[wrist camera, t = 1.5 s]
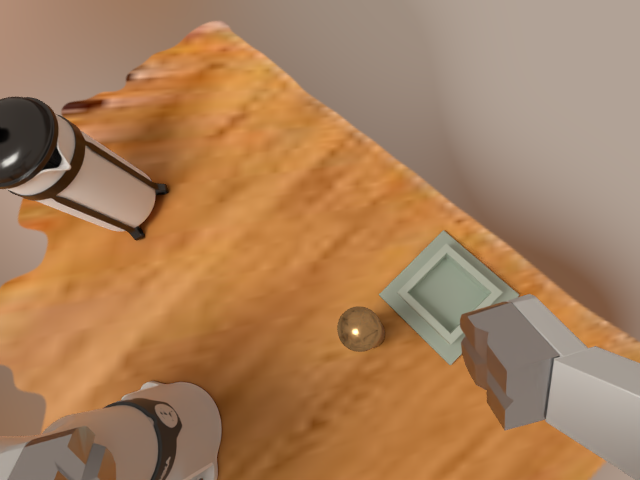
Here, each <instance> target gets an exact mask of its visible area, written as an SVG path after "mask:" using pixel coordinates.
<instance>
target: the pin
mask: <svg viewBox="0 0 640 480" xmlns="http://www.w3.org/2000/svg"><path fill="white" fill-rule="evenodd" d="M337 330H338V336H339V338H340V340H341V342H342V343H343V344H344V345H345V346H346V347H347V348H349V349H350V350H353V351H358V352H362V351H367V350H370V349H372V348H375V347H377V346H379V345H380V344H381V343H382V342H383V340H384V338H385V329H384V326H383V325H382V323H381V322H380V320H379V318H378V316H377V315H376V314H375V313H374V312H373V311H371V310H370V309H368V308H365V307H353V308H350V309H348V310H347V311H345V312H344V313H343V314H342V316H341V317H340V319H339V322H338V327H337Z"/></svg>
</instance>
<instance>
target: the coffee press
mask: <svg viewBox="0 0 640 480" xmlns="http://www.w3.org/2000/svg"><path fill="white" fill-rule="evenodd" d="M0 189H7V190H8V191H10V192H11V193H13V194H15V195H18V196H20V197H23V198H25V199H28V200H34V201H38V202H40V203H43V204H45V205H48V206H50V207H53V208H55V209H58V210H61V211H63V212H66V213H68V214H71V215H73V216H76V217H78V218H81V219H83V220H86V221H89V222H91V223H94V224H96V225H99V226H101V227H104V228H107V229H110V230H113V231H127V232H129V233H130V234H131V236H132V237H133V238H134V239H135V240H139V239H142V238H144V233H143V231H142V230H141V228H140V227H139V225H140V224H141V223H143V222H144V221H145V220H146V218H147V217H148V216H149V214H150V213H151V211H152V209H153V206H154V203H155V195H165V194H167V193H168V188H167V185H166V184H157V183H154V182H152V180H151V179H150V178H149V177H148V176H147V175H146V174H145V173H144V172H142V171H141V170H139V169H138V168H136V167H135V166H133V165H132V164H130V163H129V162H127V161H126V160H124V159H123V158H121V157H120V156H118V155H117V154H115V153H114V152H112V151H111V150H109V149H108V148H106V147H105V146H103V145H102V144H100V143H99V142H97V141H96V140H94V139H93V138H91V137H90V136H88V135H87V134H85V133H84V132H82V131H80V130H79V128H78V127H77V126H76V125H74V124H73V123H71V122H70V121H68V120H67V119H65V118H64V117H62V116H60V115H57V114H55V113H54V112H53V110H52V109H51V108H50V107H49V106H48V105H46V104H45V103H43V102H42V101H40V100H38V99H35V98H30V97H24V98H23V97H8V98H4V99H0Z"/></svg>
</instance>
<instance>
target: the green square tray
mask: <svg viewBox="0 0 640 480" xmlns="http://www.w3.org/2000/svg"><path fill="white" fill-rule="evenodd" d="M379 296H380V297H381V298H382V299H383V300H385V301H386V302H387V303H388V304H389V305H390V306H391V307H392V308H393V309H394V310H395V311H396V312H397V313H398V314H399V315H400V316H401V317H402V318H403V319H404V320H405V321H406V322H407V323H408V324H409V325H410V326H411V327H412V328H413V329H414V330H415V331H416V332H417V333H418V334H419V335H420V336H421V337H422V338H423V339H424V340H425V341H426V342H427V343H428V344H429V345H430V346H431V347H432V348H433V349H434V350H435V351H436V352H437V353H438V354H439V355H440V356H441V357H442V358H443V359H444V360H445V361H446V362H447V363H448V364H449V365H451V364H452V363H453V362H454V361H455V360H456V359H457V358H458V357H459V356H460V355H461V354H462V349H461V341H462V340H463V338H464V337H465V334H464V333H463V331H462V330H461V328H460V318H461V315H462V314H464V313H468V312H471V311H474V310H477V309H481V308H484V307H487V306H491V305H494V304H497V303H500V302H506V301H508V300H511V299H514V298H517V297H518V296H519V294H518V293H516V292H515V291H514V290H513V289H512V288H511V287H509V286H508V285H507V284H506V283H505V282H504V281H502V280H501V279H500V278H499V277H498V276H497V275H495V274H494V273H493V272H492V271H491V270H490V269H488V268H487V267H486V266H485V265H484V264H483V263H481V262H480V261H479V260H478V259H477V258H475V257H474V256H473V255H472V254H471V253H470V252H468V251H467V250H466V249H465V248H464V247H463V246H461V245H460V244H459V243H458V242H457V241H456V240H454V239H453V238H452V237H451V236H450V235H449V234H447V233H446V232H445V231H444V230H443V231H442V232H441V233H440V234H439V235H438V236H437V237H436V238H435V239H434V240H433V241H432V242H431V243H430V244H429V245H428V246H427V247H426V248H425V249H424V250H423V251H422V252H421V253H420V254H419V255H418V256H417V257H416V258H415V259H414V260H413V261H412V262H411V263H410V264H409V265H408V266H407V267H406V268H405V269H404V270H403V271H402V272H401V273H400V274H399V275H398V276H397V277H396V278H395V279H394V280H393V281H392V282H391V283H390V284H389V285H388V286H387V287H386V288H385V289H384V290H383V291H382V292H381V293H380V294H379Z"/></svg>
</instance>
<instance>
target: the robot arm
mask: <svg viewBox="0 0 640 480" xmlns="http://www.w3.org/2000/svg"><path fill="white" fill-rule="evenodd" d="M460 328H461V330H462V331H463V333H464V334H465V337H464V338H463V340H462V341H461V349H462V355H463V358H464V362H465V365H466V367H467V369H468V371H469V374H470V375H471V377H472V379H473V380H474V382H475V384H476V385H478V386H480V387H482V388H483V389H485V390H487V403H488V405H489V406H490V408H491V410H492V411H493V413H494V414H495V416H496V418H497V419H498V421H499V422H500V424H501V425H502V427H503V429H504V430H508V429H512V428H515V427H519V426H523V425H526V424H530V423H534V422H538V421H541V420H545V419H546V422H547V423H549V424H550V425H552V426H553V427H555V428H556V429H558V430H559V431H561V432H562V433H564V434H566V435H567V436H569V437H570V438H572V439H573V440H575V441H576V442H578V443H579V444H581V445H583V446H584V447H586V448H587V449H589V450H590V451H592V452H593V453H595V454H596V455H598V456H600V457H601V458H603V459H604V460H606V461H607V462H609V463H610V464H612V465H614V466H615V467H617V468H618V469H620V470H621V471H623V472H624V473H626V474H627V475H629V476H630V477H632V478H634V479H635V480H640V363H638V362H635V361H632V360H630V359H627V358H625V357H622V356H619V355H617V354H614V353H612V352H609V351H606V350H604V349H601V348H599V347H596V346H595V347H591V348H587V347H586V346H585V345H584V344H583V343H582V342H581V341H580V340H579V339H578V338H577V337H576V336H575V335H574V334H573V333H572V332H571V331H570V330H569V329H568V328H567V327H566V326H565V325H564V324H563V323H562V322H561V321H560V320H559V319H558V318H557V317H556V316H555V315H554V314H553V313H552V312H551V311H550V310H549V309H548V308H547V307H545V306H544V305H543V304H542V303H541V302H540V301H539V300H538V299H537V298H536V297H535V296H533V295H531V294H528V295H524V296H521V297H518V298H514V299H511V300H508V301H506V302H500V303H497V304H494V305H491V306H487V307H484V308H481V309H477V310H474V311H471V312H468V313H464V314H462V315H461V318H460ZM221 433H222V427H221V419H220V414H219V411H218V408H217V406H216V404H215V402H214V401H213V399H212V398H211V396H210V395H209V394H208V393H207V392H206V391H205V390H203V389H202V388H200V387H199V386H197V385H194V384H191V383H187V382H177V383H171V384H163V383H160V382H156V381H150V382H146V383H145V384H144V385H143V386H142V387H141V389H140V390H139V391H136V392H133V393H129V394H126V395H124V396H123V397H122V400H121V401H117V402H115V403H112V404H110V405H107V406H106V407H104V408H102V409H97V410H92V411H87V412H82V413H77V414H72V415H67V416H65V417H62V418H60V419H58V420H57V421H55V422H54V423H52V424H51V425H50V426H49V427H48V428H47V429H46V430H45V431H44V432H43V433H42V434H40V435H33V436H15V437H14V436H12V437H9V436H7V437H6V436H3V437H2V436H1V437H0V480H201V478H203V480H217V477H218V466H217V454H218V450H219V446H220V441H221Z"/></svg>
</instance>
